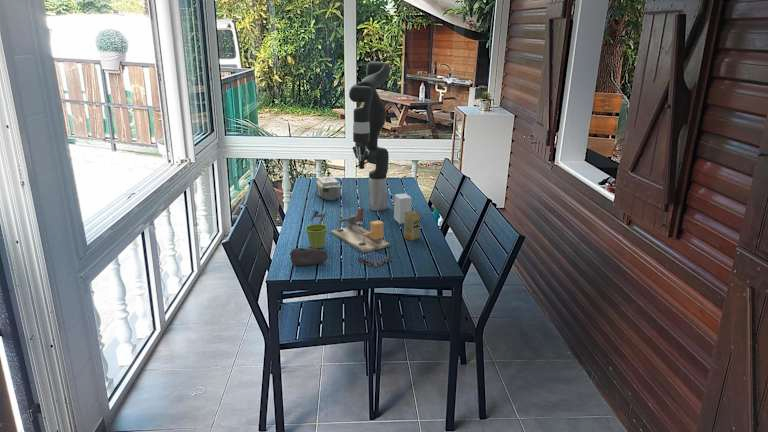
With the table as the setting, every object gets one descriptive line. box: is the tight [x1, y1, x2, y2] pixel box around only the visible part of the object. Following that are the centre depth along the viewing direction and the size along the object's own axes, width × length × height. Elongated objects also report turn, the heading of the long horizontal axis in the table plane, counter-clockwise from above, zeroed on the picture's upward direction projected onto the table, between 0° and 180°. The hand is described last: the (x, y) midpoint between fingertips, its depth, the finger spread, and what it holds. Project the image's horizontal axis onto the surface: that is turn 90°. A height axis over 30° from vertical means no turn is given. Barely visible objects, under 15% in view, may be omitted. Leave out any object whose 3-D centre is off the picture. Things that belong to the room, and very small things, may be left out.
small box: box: [393, 193, 413, 225], centre depth 254 cm, size 8×6×13 cm
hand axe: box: [346, 208, 364, 227], centre depth 260 cm, size 27×2×10 cm
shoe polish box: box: [403, 210, 421, 241], centre depth 232 cm, size 5×5×12 cm
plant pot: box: [305, 223, 328, 249], centre depth 222 cm, size 9×9×9 cm
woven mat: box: [357, 250, 392, 268], centre depth 210 cm, size 10×11×2 cm
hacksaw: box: [309, 210, 329, 228], centre depth 256 cm, size 24×10×2 cm, turn 177°
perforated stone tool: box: [289, 247, 329, 267], centre depth 205 cm, size 15×5×7 cm, turn 100°
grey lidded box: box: [315, 175, 342, 201], centre depth 294 cm, size 12×28×10 cm, turn 16°
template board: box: [331, 214, 391, 254], centre depth 230 cm, size 14×28×7 cm, turn 34°
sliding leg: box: [363, 219, 385, 243], centre depth 222 cm, size 9×4×8 cm, turn 124°
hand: (361, 168), depth 237 cm, fingers closed
